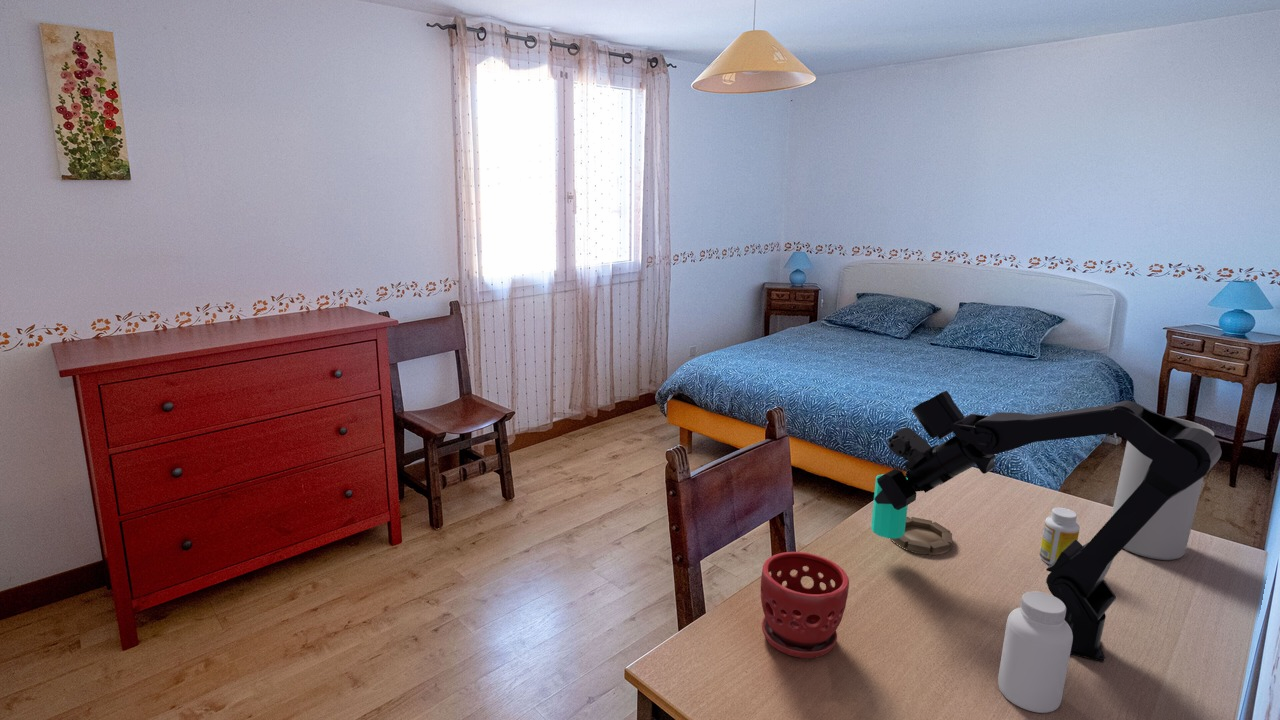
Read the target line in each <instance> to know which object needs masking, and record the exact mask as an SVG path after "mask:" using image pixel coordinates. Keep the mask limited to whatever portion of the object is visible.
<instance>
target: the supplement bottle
mask: <svg viewBox="0 0 1280 720" xmlns="http://www.w3.org/2000/svg"><path fill="white" fill-rule="evenodd" d="M1077 517H1078V515H1077V513H1076V512H1075V511H1074V510H1072V509H1068V508H1064V507H1053V508H1052V511H1051V514H1050V515H1049V516H1048V517H1046V519H1045V521H1044V527H1043V532H1042V539H1041V542H1040V549H1039V558H1040V559H1041V560H1042V561H1043V562H1044V563H1046V565H1049V566H1050V565H1051V564H1052V563H1053V562H1054V561H1055V560H1056V559H1057V558H1058V557H1059V555H1060V554H1061V552H1062V551H1063V550H1064V549H1066V548H1067V547H1068V546H1069V545H1070V544H1071V543H1072V542H1073V541H1074V540H1077V541H1078V539H1079V533H1080V528H1081V527H1080V524H1078V522H1077Z"/></svg>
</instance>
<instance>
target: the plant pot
mask: <svg viewBox="0 0 1280 720" xmlns="http://www.w3.org/2000/svg"><path fill="white" fill-rule="evenodd" d="M804 567H807V568H808V569H807V570H806V569H804ZM792 571H797V572H796V574H794V575H791V572H792ZM779 572H780V574H779V575H778V573H779ZM819 573H820V574H822V577H821V576H820V574H819ZM803 577H809V578H811V580H812V581H813V586H812V587H805V586H804V585H803V583H802V579H803ZM831 581H833V582H834V586H833V585H832V583H831ZM784 582H786V585H784V586H783V583H784ZM821 583H823V584H824V585H825V589H823V588H822V587H821ZM849 586H850V579H849V576H848V574H847V572H846V571H845V570H844V569H843V568H842V567H841V566H840V565H839V564H837V563H836V562H834V561H832V560H831V559H828V558H826V557H824V556H821V555H817V554H813V553H810V552H803V551H786V552H780V553H777V554H774V555H772V556H770V557H768V558H767V559H766V560H765V561H764V563H763V565H762V571H761V577H760V600H761V601H760V602H761V608H762V612H763V615H764V617H763V619H762V621H761V629H762V630H761V631H762V633H763V635H764V637H765V639H766V640H767V642H768V643H769V644H770V645H771V646H772V647H773V648H774V649H777V650H778V651H780V652H781V653H783V654H786V655H789V656H792V657H796V658H803V659H813V658H818V657H821V656H824V655H826V654H828V653H829V652H830V651H831V650H832V649H833V648H834V647H835V645H836V643H837V640H838V633H837V629H838V627H839V626H840V625H841V622H842V619H843V616H844V614H845V613H844V612H845V610H846V607H847V600H848V595H849V588H850V587H849Z"/></svg>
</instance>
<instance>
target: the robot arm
mask: <svg viewBox="0 0 1280 720" xmlns="http://www.w3.org/2000/svg"><path fill="white" fill-rule="evenodd" d="M911 412H912V413H913V415H914V416H915V417H916V419H917V421H918V422H919V424H920V425H921V426H922V428H923V429H924V430H925V432H926V434H927V435H928V437H930V438H932V440H935V438H937V439H938V440H942V439H944V438H945V437H947V436H949V435H951V434H954V435H953V436H952V437H951V438H949V439H947V440H945V441H944V442H942V443H941V444H940V443H939V444H936V445H933V446H931V445H930V443H928V441H927V440H926V439H925V438H923V437H922V436H921V435H919V434H918V433H917V432H915V431H914V430H913V429H912V428H910V427H903V428H901V429H899V430H897V431H895V432H894V434H893V436H891V437H890V438H888V439H887V441H888V444H887V447H888V449H889V450H890V451H891V452H892V453H894V454H895V455H896V456H897V457H901V458H902V459H904V460H906V462H904V463H903V465H904V467H905V468H906V469H907V470H906V471H905V472H904V473H903V471H902V470H900V469H896V468H894V469H891V470H890V471H888V472H886V473H883V474H884V475H883V474H881V475H882V476H881V477H879V478H877V483H878V484H879V486H880V487H881V489H882V490H881V492H880V493H879V494H878V495H877V496H876V497H875V498H874V497H873V500H874V499H875V501H876V503H877V504H892V505H893V507H894V508H895V509H897V510H899V509H901V508H903V507H905V506H907V505H910V504H911V503H913V502H915V501H916V500H917V493H918V492H923V493H928V492H930V491H931V490H933V489H934V488H936V487H938V486H939V485H943V484H945V483H946V482H948V481H950V480H951V479H953V478H955V477H956V476H958V475H960V474H962V473H964V472H965V471H967V470H969V469H971V468H973V467H975V466H977V468H978V470H979V471H980V473H982V474H983V475H985V474H987V473H989V472H990V471H992V470H993V469H994V468H996V467H995V461H996V460H995V459H996V457H997V456H996V455H998V454H999V455H1000V454H1001V453H1002V454H1003V453H1005V452H1009V451H1012V450H1016V449H1019V448H1021V447H1024V446H1027V445H1030V444H1034V443H1037V442H1048V441H1057V440H1064V439H1065V440H1066V439H1072V438H1073V439H1074V438H1084V437H1092V436H1099V435H1110V434H1116V435H1118V436H1120V437H1121V438H1124V439H1125V440H1126V442H1127V441H1128V442H1130V443H1131V444H1132V445H1133V446H1134V447H1135V448H1136V449H1137V450H1139V451H1140V452H1141V453H1142V454H1143V455H1145V456H1147V457H1148V458H1150V459H1152V462H1151V464H1150V466H1149V468H1148V470H1147V473H1146V475H1145V477H1144V480H1143V481H1142V483H1141V484H1140V486H1139V487H1138V488H1137V489H1136V490H1135V491H1134V492H1133V493H1132V495H1131V496H1130V497H1129V498H1128V499H1127V500H1126V501H1125V502H1124V504H1123V505H1122V506H1121V507H1120V508H1119V509H1118V510H1117V511H1116V513H1115V514H1114V515H1113V516H1112V517H1110V518H1109V520H1107V522H1106V523H1105V524H1104V525H1103V526H1102V527H1101V528H1100V530H1099V531H1098V532H1096V534H1095V535H1094V536H1093V537H1092V539H1091V540H1090V541H1088V542H1087V543H1085V544H1084V545H1082V544H1081V542H1080V541H1078V540H1074V541H1073V542H1072V543H1071V544H1070V545H1069V546H1068V547H1067V548H1066V549H1064V550H1063V551H1062V552H1061V554H1060V555H1059V557H1058V558H1057V559H1056V560H1055V561H1054V562H1053V563H1052V564H1051V565H1049V566H1048V567H1047V568H1046V571H1047V572H1049V574H1047V577H1046V580H1045V583H1046V585H1047V588H1048V590H1049V592H1050V593H1051V594H1050V595H1052V596H1055V597H1056V598H1058V599H1060V600H1061V601H1062V602H1063V603H1064V604H1065V606H1066V615H1065V619H1064V620H1065V621H1066V622H1067V623H1068V625H1069V626H1070V628H1071V630H1072V634H1073V641H1072V647H1071V652H1070V655H1074V656H1078V657H1082V658H1086V659H1089V660H1094V661H1099V662H1106V656H1105V653H1104V650H1103V647H1102V643H1101V640H1102V635H1103V631H1104V627H1105V622H1106V617H1107V616H1106V611H1107V610H1108V609H1109V608H1110V607H1111V605H1112V604H1113V603H1114V602H1115V601H1116V599H1117V596H1116V594H1115V592H1114V591H1113V590H1112V589H1111V587H1110V586H1109V584H1108V583H1107V582H1106V581H1105V577H1106V576H1107V574H1108V572H1109V571H1110V568H1111V565H1112V563H1113V561H1114V559H1115V557H1116V556H1117V555H1118V554H1119V553H1120V552H1121V551H1122V550H1123V547H1124V546H1125V545H1126V544H1127V543H1128V542H1129V541H1130V540H1131V539H1132V538H1133V537H1134V536H1135V535H1136V534H1137V532H1138V531H1139V530H1140V529H1141V528H1142V527H1143V526H1144V525H1145V524H1146V523H1147V522H1148V521H1149V520H1150V519H1151V517H1152V516H1153V515H1154V514H1155V513H1156V512H1157V511H1158V510H1159V509H1160V508H1161V507H1162V506H1163V505H1164V504H1165V502H1166V501H1167V500H1169V499H1170V498H1172V497H1173V496H1175V495H1177V494H1178V493H1180V492H1182V491H1183V490H1185V489H1186V488H1188V487H1189V486H1191V485H1192V484H1194V483H1195V482H1196V481H1198V480H1199V479H1201V478H1202V477H1205V476H1206V475H1207V474H1208V473H1209V472H1210V471H1211V469H1212V468H1213V467H1214V466H1215V465H1216V463H1218V461H1219V460H1220V458H1221V457H1222V452H1223V451H1222V448H1221V443H1220V442H1219V440H1218V439H1217V437H1216V436H1215V435H1214V436H1213V435H1212V434H1210V433H1209V432H1207V431H1204V430H1202V429H1197V428H1189V427H1187V426H1186V425H1184V424H1182V423H1180V422H1178V421H1176V420H1174V419H1172V418H1169V417H1170V416H1168V417H1166V416H1167V415H1163V414H1162V413H1161V414H1160V413H1158V412H1155V411H1152V410H1150V409H1148V408H1146V407H1145V406H1143V405H1141V404H1139V403H1138V402H1135V401H1131V400H1122V401H1120V402H1117V403H1111V404H1104V405H1098V406H1096V405H1095V406H1091V407H1083V408H1075V409H1070V410H1069V409H1068V410H1063V411H1055V412H1049V413H1048V412H1047V413H1040V414H1028V413H1023V412H1011V411H1010V412H1009V411H1007V412H1004V411H1002V412H994V413H991V414H989V415H985V414H976V413H970V414H968V415H966V416H964V414H963V413H962V411H961V410H960V409H959V407H958V405H957V404H956V403H955V401H954V399H953V398H952V395H951V394H950V393H949V392H948V390H944V391H942V392H939V393H938V394H937V395H935V396H932V397H931V398H929V399H927V400H925V401H922V402H920V403H919V404H917V405H916V406H914V407H913V408H912V409H911ZM907 478H908V480H907Z"/></svg>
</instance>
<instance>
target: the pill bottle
mask: <svg viewBox="0 0 1280 720" xmlns="http://www.w3.org/2000/svg"><path fill="white" fill-rule="evenodd" d="M1065 615H1066V606H1065V604H1064V603H1063V602H1062V601H1061V600H1060V599H1058V598H1056V597H1055V596H1053V595H1052V594H1049V593H1047V592H1042V591H1035V590H1034V591H1027V592H1025V593H1023V594H1022V595H1021V601H1020V607H1017V608H1015V609H1013V610H1012V611H1011V612H1010V613H1009V615H1008V617H1007V619H1006V625H1005V633H1004V637H1003V638H1004V639H1003V644H1002V650H1001V651H1002V652H1001V658H1000V663H999V670H998V676H997V678H998V679H997V684H998V685H997V686H998V688H999V690H1000V692H1001V694H1002V695H1003V696H1004V697H1005V698H1006V700H1008V701H1009V702H1010V703H1012V704H1013V705H1015V706H1017V707H1018V708H1021V709H1022V710H1023V709H1024V710H1027V711H1028V712H1033V713H1039V714H1041V713H1042V714H1047V713H1048V714H1049V713H1052V712H1054V711H1055V710H1057V709H1058V708H1059V707H1060V706H1061V703H1062V698H1063V695H1064V694H1063V693H1064V689H1065V685H1066V684H1065V683H1066V678H1067V673H1068V668H1069V662H1070V657H1071V654H1070V652H1071V647H1072V641H1073V634H1072V630H1071V628H1070V626H1069V625H1068V623H1067V622H1066V621H1065V620H1064V619H1065Z"/></svg>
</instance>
